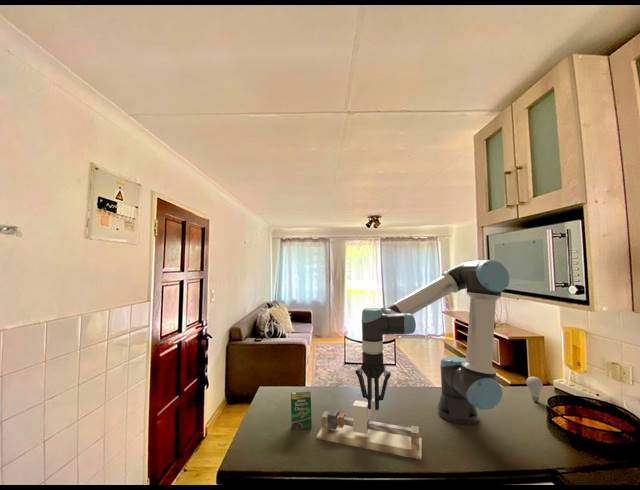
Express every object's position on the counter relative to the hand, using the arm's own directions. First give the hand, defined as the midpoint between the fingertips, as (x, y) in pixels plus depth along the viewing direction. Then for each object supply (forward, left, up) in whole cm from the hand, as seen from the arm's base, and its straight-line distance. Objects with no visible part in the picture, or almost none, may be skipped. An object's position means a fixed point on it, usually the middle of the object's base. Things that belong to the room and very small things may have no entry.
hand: (373, 418), depth 104 cm
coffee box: (+28, +1, -8) cm, 29 cm away
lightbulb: (-65, -54, -8) cm, 85 cm away
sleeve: (+5, 0, -5) cm, 7 cm away
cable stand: (+2, 0, -8) cm, 8 cm away
